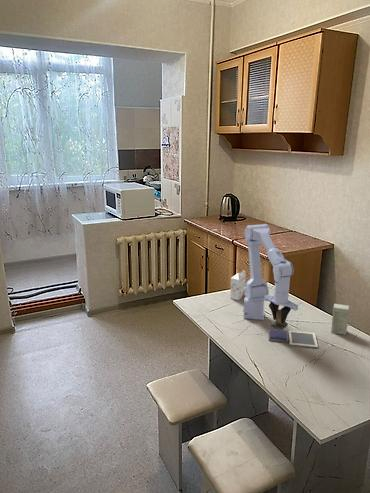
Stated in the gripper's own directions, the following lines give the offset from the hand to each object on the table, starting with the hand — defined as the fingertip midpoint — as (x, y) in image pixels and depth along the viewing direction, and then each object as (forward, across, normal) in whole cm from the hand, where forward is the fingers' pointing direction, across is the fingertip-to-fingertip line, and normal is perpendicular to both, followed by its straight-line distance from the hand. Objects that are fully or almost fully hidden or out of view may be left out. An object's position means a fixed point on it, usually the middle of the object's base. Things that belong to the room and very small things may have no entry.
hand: (279, 320), depth 156 cm
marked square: (+8, -8, -5) cm, 13 cm away
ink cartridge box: (+8, +37, -22) cm, 44 cm away
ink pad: (+8, 0, 0) cm, 8 cm away
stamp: (+3, 0, 0) cm, 3 cm away
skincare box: (+8, -17, -22) cm, 29 cm away
